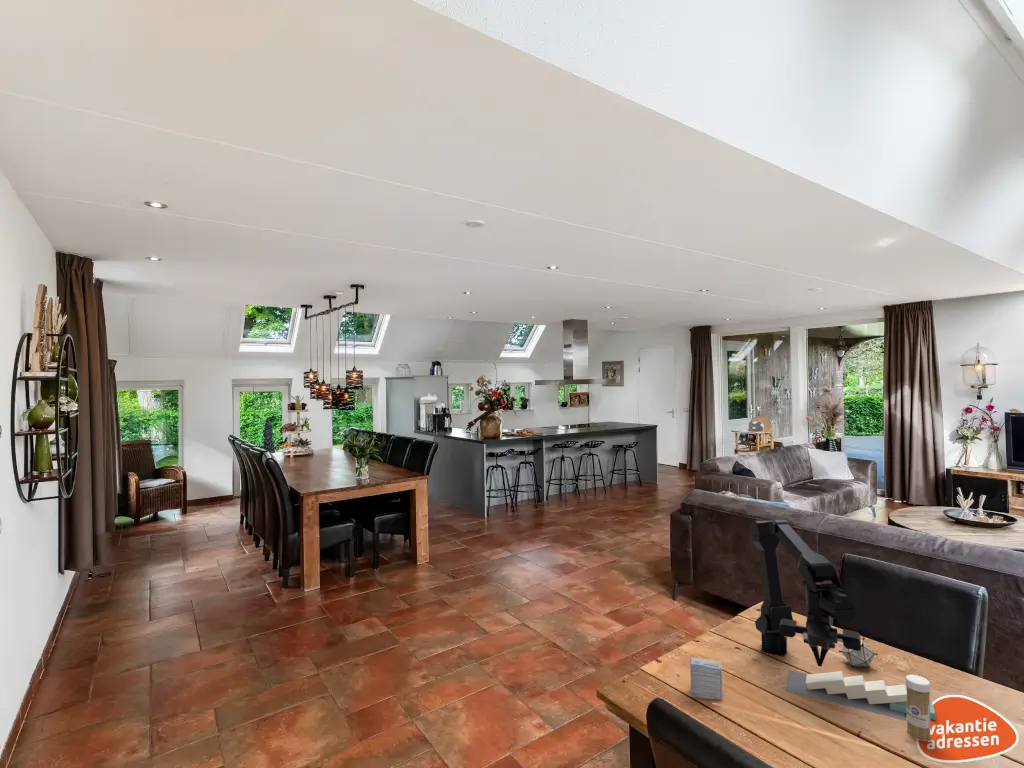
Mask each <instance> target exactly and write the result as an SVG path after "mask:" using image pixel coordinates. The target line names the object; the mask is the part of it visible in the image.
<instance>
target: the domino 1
mask: <svg viewBox="0 0 1024 768" xmlns="http://www.w3.org/2000/svg"><path fill="white" fill-rule="evenodd" d="M845 677H846V676H845V674H844V672H843V670H840V671H839V670H838V671H830V672H829V671H828V672H820V673H810V674H808V675H807V676H806V685H807V688H808V690H811V689H821V688H832V687H843V686H845Z"/></svg>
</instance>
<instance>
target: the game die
mask: <svg viewBox="0 0 1024 768" xmlns="http://www.w3.org/2000/svg"><path fill="white" fill-rule="evenodd" d="M860 639H861V651H856V650H851V649H847V648H846V647H845V646H844V645H843V647H842V650H838V652H839V653H842V655H843V656H844V657H845V659H846V660H847V661H848V662H849V663H850V665H851V666H850V667H852V668H853V667H865V668H871V666H870V665H871V664H872V661H873V659H874V657H875V656H878V655H879V653H877V652H874V651H873V649H872V648H871V647H870V646H869V645H868V644H867V642H866V641H865V640H866V638H865V636H863V637H862V638H860Z"/></svg>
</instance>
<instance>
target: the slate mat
mask: <svg viewBox="0 0 1024 768" xmlns="http://www.w3.org/2000/svg"><path fill="white" fill-rule="evenodd" d="M807 675H809V674H807V673H804V672H799V671H794V670H790V669H789V670H788V673H787V681H786V684H785V685H786V686H785V692H788V693H792V694H796V695H799V696H804V697H808V698H813V699H815V700H821V701H826V702H830V703H834V704H837V705H841V706H845V707H849V708H854V709H856V710H857V709H858V710H861V711H865V712H870V713H873V714H877V715H882V716H886V717H891V718H894V719H899V720H902V721H907V717H906V713H904V712H900V711H896V710H891V709H890V706H889V703H880V704H869V702H868V700H867V698H859V699H848V697H847V694H846V693H839V694H828V693H827V691H826V688H821V689H811V690H808V688H807V685H806V676H807Z"/></svg>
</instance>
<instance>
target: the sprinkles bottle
mask: <svg viewBox="0 0 1024 768" xmlns="http://www.w3.org/2000/svg"><path fill="white" fill-rule="evenodd" d="M905 686H906V688H907V713H906V724H907V726H906V733H907V735H909V736H910V737H911V738H913V739H915V740H918V741H922V742H928V741H931V739H932V738H931V719H930V703H931V702H930V701H931V700H930V693H931V682H930V681H929V680H928V679H927V678H925V677H923V676H920V675H917V674H908V675H906V676H905Z"/></svg>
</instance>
